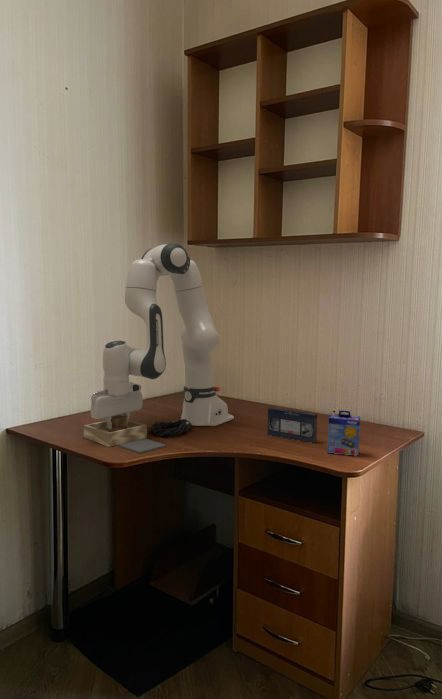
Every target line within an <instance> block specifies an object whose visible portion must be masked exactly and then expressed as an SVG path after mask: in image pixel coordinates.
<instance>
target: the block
mask: <svg viewBox="0 0 442 699" xmlns="http://www.w3.org/2000/svg"><path fill="white" fill-rule="evenodd" d="M110 421H111V423H114V428H113V429H109V432H114V431H118V430H123V429H127V416H124V415H123V414H120V415H115V416H111V420H110Z"/></svg>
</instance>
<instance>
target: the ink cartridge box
mask: <svg viewBox="0 0 442 699" xmlns="http://www.w3.org/2000/svg"><path fill="white" fill-rule="evenodd" d="M327 425H328V428H327V432H328V433H327V454H328V453H334V454H333V455H337V454H345V455H344V456H347V455H355V456H357V455H358V456H359V452H360V436H361V435H360V432H361V431H360V430H361V416H359V415H351V410H340V409H338V414H337V413H330V414H329V416H328V424H327ZM355 456H354V457H355ZM358 456H357V457H358Z"/></svg>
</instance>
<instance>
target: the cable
mask: <svg viewBox="0 0 442 699" xmlns="http://www.w3.org/2000/svg"><path fill="white" fill-rule="evenodd" d="M186 422H189V421H187V420H186V419H181V418H180V419H178V420H174V421H168V422H167V421H161V422H158V421H155V423H152V426H151V427H150V430H149V431H150V432H152V433H153V434H154V435H156V436H158V437H166V438H170V437H175V436H178V435H179V434H181V433H185V432H186V433H187V432H188V431H190V429H192V426H193V425H191V423H190V422H189V423H188V424H187V423H186ZM164 428H165V429H164ZM166 428H167V429H166Z"/></svg>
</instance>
